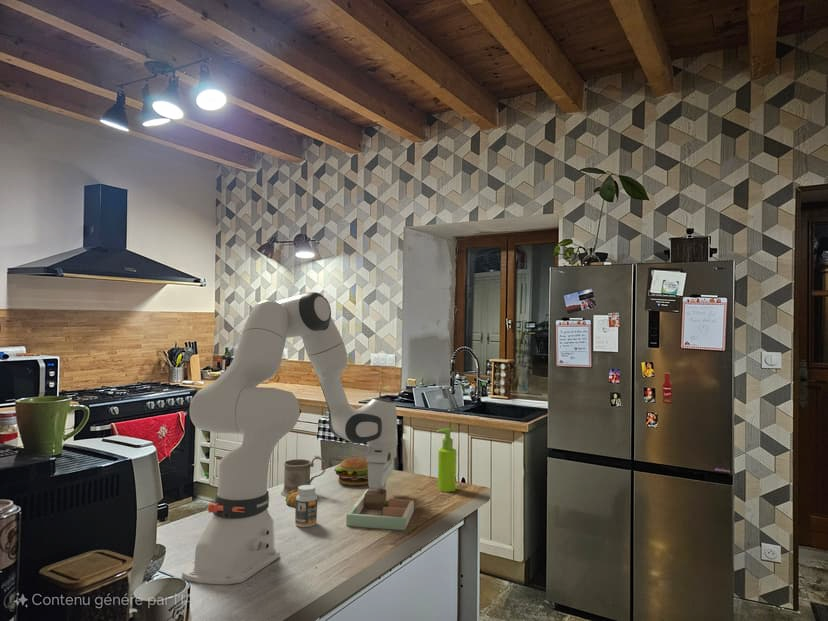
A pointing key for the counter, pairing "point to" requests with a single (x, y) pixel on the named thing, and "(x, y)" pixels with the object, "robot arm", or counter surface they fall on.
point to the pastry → (292, 498)
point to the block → (375, 499)
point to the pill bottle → (306, 506)
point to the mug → (298, 474)
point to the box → (392, 516)
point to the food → (353, 471)
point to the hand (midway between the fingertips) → (381, 495)
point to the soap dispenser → (447, 464)
